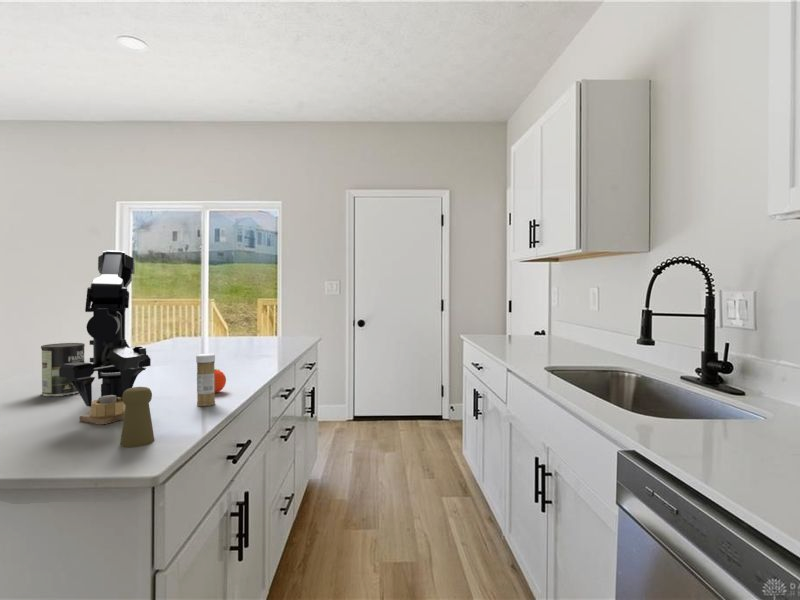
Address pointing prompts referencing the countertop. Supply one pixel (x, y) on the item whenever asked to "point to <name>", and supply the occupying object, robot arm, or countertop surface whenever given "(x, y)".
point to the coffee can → (53, 361)
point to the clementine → (219, 380)
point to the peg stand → (107, 419)
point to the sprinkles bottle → (205, 379)
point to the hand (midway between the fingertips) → (108, 401)
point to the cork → (137, 418)
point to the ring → (107, 408)
